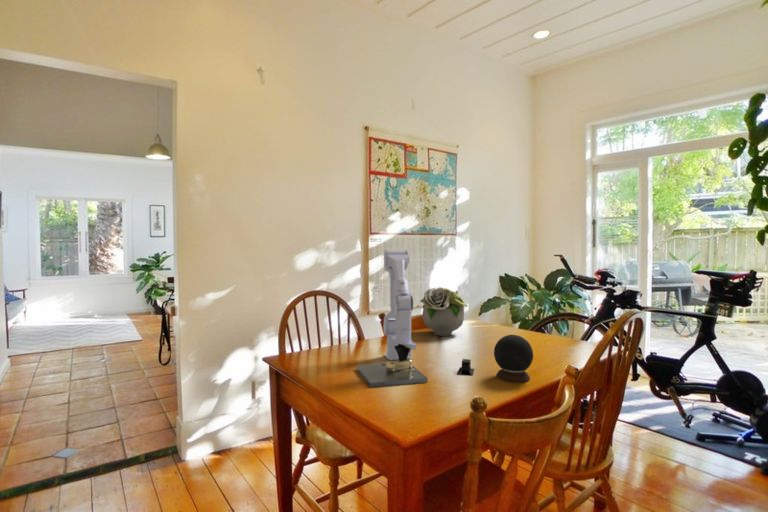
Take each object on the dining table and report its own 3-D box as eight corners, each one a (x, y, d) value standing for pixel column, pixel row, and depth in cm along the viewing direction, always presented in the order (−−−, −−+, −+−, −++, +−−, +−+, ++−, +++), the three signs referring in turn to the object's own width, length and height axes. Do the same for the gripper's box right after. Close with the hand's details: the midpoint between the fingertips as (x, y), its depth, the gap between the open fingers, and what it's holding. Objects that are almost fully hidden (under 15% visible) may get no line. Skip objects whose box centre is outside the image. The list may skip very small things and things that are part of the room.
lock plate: (407, 365, 160) (407, 361, 160) (427, 382, 140) (427, 377, 140) (356, 369, 154) (356, 365, 154) (370, 387, 135) (370, 382, 135)
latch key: (389, 372, 145) (389, 364, 145) (384, 369, 148) (384, 362, 147) (413, 367, 151) (414, 360, 150) (409, 365, 153) (409, 358, 153)
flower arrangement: (417, 338, 204) (417, 289, 204) (421, 328, 229) (421, 284, 228) (468, 341, 200) (469, 290, 200) (466, 330, 225) (467, 285, 224)
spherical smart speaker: (539, 383, 140) (540, 339, 140) (501, 384, 139) (502, 339, 139) (523, 371, 153) (524, 331, 153) (488, 372, 152) (489, 331, 152)
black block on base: (474, 379, 146) (474, 366, 146) (453, 376, 148) (453, 364, 148) (477, 369, 158) (477, 357, 158) (457, 367, 160) (457, 355, 160)
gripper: (384, 325, 156) (383, 361, 156) (404, 333, 143) (404, 372, 143) (400, 323, 159) (399, 359, 159) (421, 331, 146) (421, 369, 147)
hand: (402, 365), depth 152 cm, fingers closed, pressing on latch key
